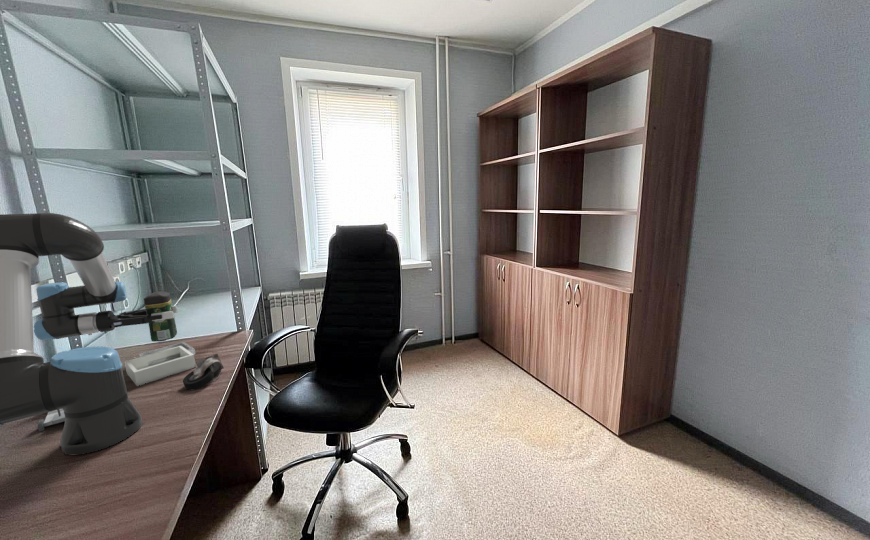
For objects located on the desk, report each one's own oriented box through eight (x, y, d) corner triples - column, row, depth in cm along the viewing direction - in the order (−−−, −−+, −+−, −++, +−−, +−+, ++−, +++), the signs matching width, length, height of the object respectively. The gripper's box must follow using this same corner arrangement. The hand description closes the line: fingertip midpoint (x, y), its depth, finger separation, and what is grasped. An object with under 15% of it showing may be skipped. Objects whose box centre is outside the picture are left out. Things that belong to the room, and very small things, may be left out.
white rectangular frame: (195, 354, 139) (194, 348, 138) (148, 368, 127) (147, 362, 127) (185, 347, 147) (184, 341, 147) (140, 359, 136) (139, 353, 135)
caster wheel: (188, 399, 110) (187, 382, 118) (227, 381, 116) (223, 367, 123) (180, 383, 107) (179, 367, 115) (220, 366, 113) (216, 352, 121)
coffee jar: (155, 336, 138) (147, 291, 135) (179, 332, 142) (171, 288, 138) (148, 344, 130) (140, 296, 126) (174, 339, 133) (166, 293, 130)
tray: (196, 367, 127) (193, 354, 126) (137, 386, 114) (134, 372, 113) (183, 357, 136) (180, 345, 136) (127, 374, 123) (124, 361, 123)
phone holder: (91, 387, 95) (28, 404, 87) (98, 420, 97) (37, 438, 89) (97, 366, 108) (42, 379, 101) (103, 395, 110) (50, 409, 103)
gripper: (109, 324, 135) (180, 314, 146) (89, 341, 117) (172, 328, 128) (105, 305, 134) (177, 297, 145) (85, 320, 115) (168, 308, 126)
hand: (175, 311), depth 136 cm, fingers closed on coffee jar, 8 cm apart
